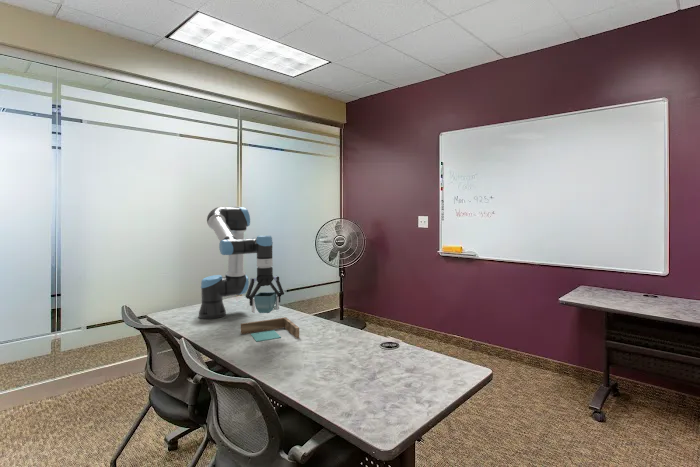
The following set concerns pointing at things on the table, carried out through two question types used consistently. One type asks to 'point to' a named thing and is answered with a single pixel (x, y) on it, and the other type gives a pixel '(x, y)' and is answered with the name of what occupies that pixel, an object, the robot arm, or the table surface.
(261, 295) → the flower pot
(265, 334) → the pad
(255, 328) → the corner arena
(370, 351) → the table surface
